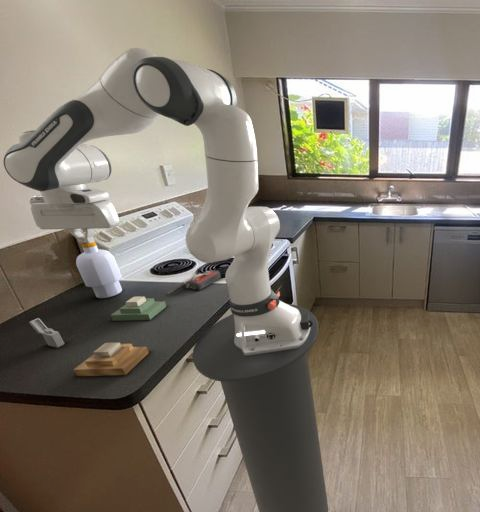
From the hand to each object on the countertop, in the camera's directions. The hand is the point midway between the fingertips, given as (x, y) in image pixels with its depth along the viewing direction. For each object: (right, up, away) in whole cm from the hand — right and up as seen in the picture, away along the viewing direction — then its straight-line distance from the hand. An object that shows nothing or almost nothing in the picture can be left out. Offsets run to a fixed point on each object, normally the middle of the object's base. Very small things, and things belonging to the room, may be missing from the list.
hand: (87, 242), depth 83 cm
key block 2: (+15, -32, -8) cm, 37 cm away
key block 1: (+3, -23, +14) cm, 28 cm away
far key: (+3, -20, +13) cm, 24 cm away
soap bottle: (-19, -19, +27) cm, 38 cm away
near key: (+15, -29, -9) cm, 34 cm away
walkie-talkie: (+11, -16, +32) cm, 38 cm away
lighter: (-10, -30, 0) cm, 31 cm away
